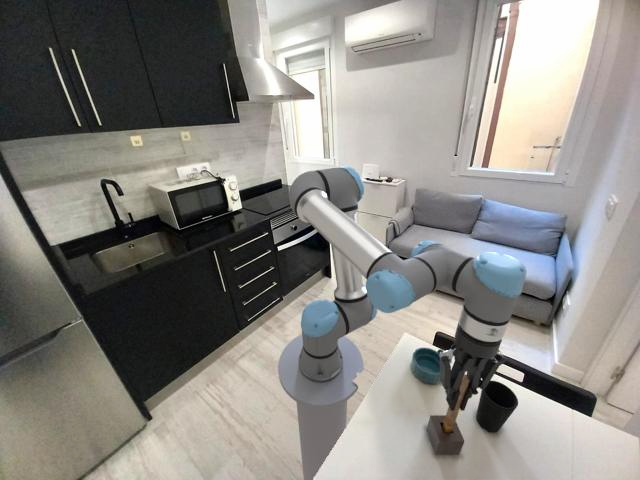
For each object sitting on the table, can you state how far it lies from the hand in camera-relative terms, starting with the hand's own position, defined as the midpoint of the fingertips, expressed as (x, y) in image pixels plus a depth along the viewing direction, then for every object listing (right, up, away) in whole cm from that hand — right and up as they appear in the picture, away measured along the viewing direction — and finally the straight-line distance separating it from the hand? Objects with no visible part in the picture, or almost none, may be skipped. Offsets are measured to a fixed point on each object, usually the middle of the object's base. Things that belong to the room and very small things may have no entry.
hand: (454, 404), depth 60 cm
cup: (+15, -12, +11) cm, 22 cm away
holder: (0, -14, +7) cm, 15 cm away
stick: (0, -9, +5) cm, 10 cm away
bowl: (+4, -5, +25) cm, 26 cm away
